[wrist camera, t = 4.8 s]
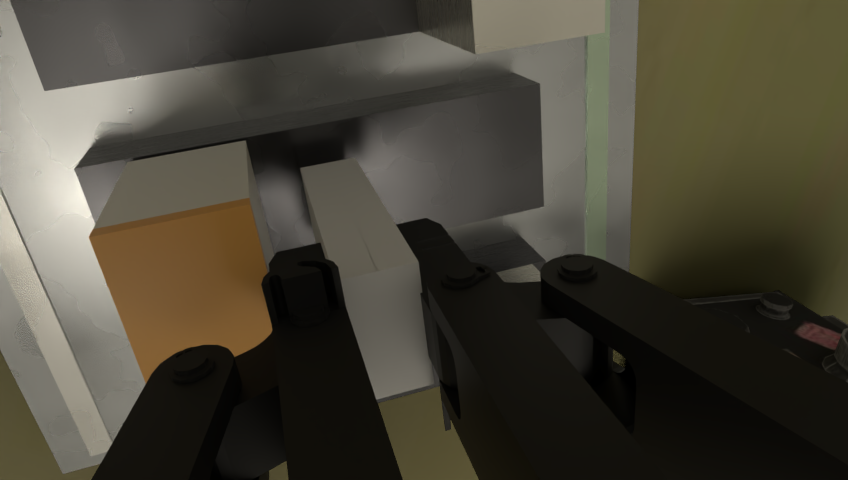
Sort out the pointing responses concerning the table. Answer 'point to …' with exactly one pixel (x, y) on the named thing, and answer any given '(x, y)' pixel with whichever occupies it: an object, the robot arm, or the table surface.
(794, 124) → the table surface
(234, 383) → the robot arm
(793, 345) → the camera
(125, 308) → the block
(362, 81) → the panel
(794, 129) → the table surface
